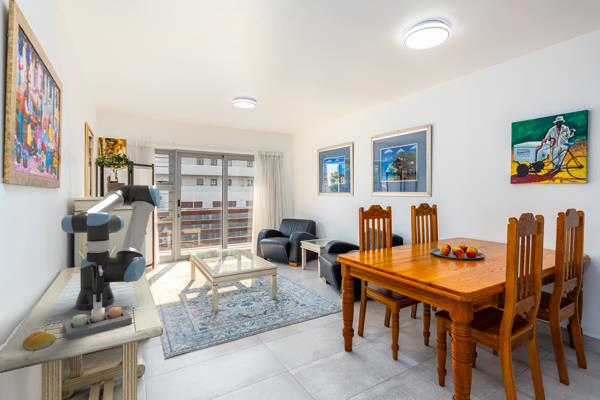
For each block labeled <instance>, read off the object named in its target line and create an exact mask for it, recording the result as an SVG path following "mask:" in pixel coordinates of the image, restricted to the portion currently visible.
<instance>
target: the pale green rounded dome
mask: <svg viewBox="0 0 600 400" xmlns="http://www.w3.org/2000/svg"><path fill="white" fill-rule="evenodd" d="M87 316H88V315H87V314H84V313H82V314H81V313H80V314H77V315H74V316H73V317H72V319H73V328H75V327H79V326H83V325H87Z"/></svg>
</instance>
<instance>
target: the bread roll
mask: <svg viewBox="0 0 600 400" xmlns="http://www.w3.org/2000/svg"><path fill="white" fill-rule="evenodd" d="M55 341H56V335H55V334H54V333H49V332H48V331H43V330H42V331H37V332H36V331H35V332H34V333H31V334H30V335H28V336H27V337H26V338H25V339H24V340H23V341H22V346H23V347H24V348H25V349H28V350H30V351H35V350H40V349H44V348H47V347H50V346H51V345H52V344H54V342H55Z"/></svg>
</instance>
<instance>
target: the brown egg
mask: <svg viewBox="0 0 600 400" xmlns="http://www.w3.org/2000/svg"><path fill="white" fill-rule="evenodd" d="M121 308H122V307H121V306H113V307H110V308H109V309H108V311H109V319H112V318H116V317H121Z"/></svg>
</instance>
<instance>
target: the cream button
mask: <svg viewBox="0 0 600 400" xmlns="http://www.w3.org/2000/svg"><path fill="white" fill-rule="evenodd" d="M105 309H106V308H105V307H102V309H99V310H95V311H94V310H93V309H91V310H90V311H91V314H90V315H91V321H92V322H98V321H101V320H104V319H105V312H106V311H105Z"/></svg>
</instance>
